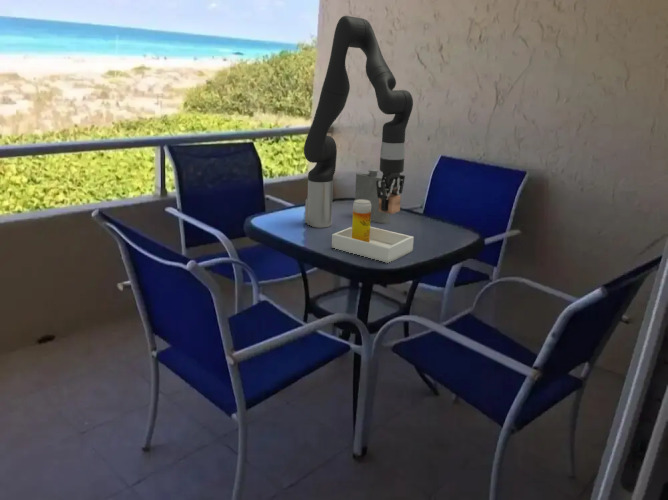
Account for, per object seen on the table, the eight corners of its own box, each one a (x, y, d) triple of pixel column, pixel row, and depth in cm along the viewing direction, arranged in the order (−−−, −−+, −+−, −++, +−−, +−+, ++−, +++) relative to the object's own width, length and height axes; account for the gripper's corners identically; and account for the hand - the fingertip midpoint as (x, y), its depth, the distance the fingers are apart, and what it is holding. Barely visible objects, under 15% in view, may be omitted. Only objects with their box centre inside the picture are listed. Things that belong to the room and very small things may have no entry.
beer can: (367, 247, 194) (370, 204, 189) (349, 246, 195) (351, 202, 190) (370, 242, 199) (372, 199, 194) (353, 240, 200) (355, 198, 195)
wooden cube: (378, 211, 186) (379, 196, 184) (386, 208, 190) (387, 193, 188) (391, 214, 183) (392, 198, 182) (399, 210, 187) (400, 195, 185)
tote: (331, 248, 194) (332, 234, 193) (358, 237, 207) (359, 223, 205) (387, 263, 182) (388, 248, 181) (412, 251, 194) (413, 236, 193)
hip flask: (391, 222, 226) (394, 171, 219) (385, 224, 223) (388, 173, 216) (357, 214, 234) (359, 165, 228) (351, 216, 231) (353, 167, 225)
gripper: (390, 161, 173) (387, 215, 179) (414, 155, 184) (410, 207, 190) (369, 157, 177) (367, 211, 183) (393, 152, 188) (390, 203, 194)
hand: (389, 208), depth 186 cm, fingers closed on wooden cube, 5 cm apart
